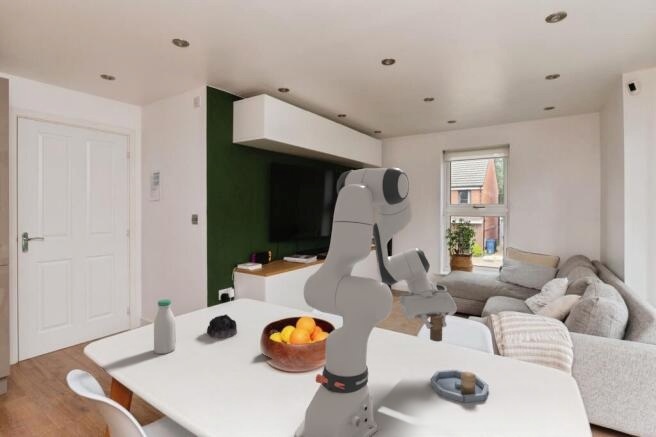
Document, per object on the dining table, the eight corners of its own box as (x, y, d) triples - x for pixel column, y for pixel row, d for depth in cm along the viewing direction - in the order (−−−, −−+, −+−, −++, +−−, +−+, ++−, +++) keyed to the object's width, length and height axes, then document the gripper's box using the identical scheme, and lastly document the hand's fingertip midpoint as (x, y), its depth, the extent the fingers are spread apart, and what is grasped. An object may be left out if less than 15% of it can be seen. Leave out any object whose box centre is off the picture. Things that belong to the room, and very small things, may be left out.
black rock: (213, 329, 162) (211, 309, 161) (242, 327, 162) (239, 307, 161) (203, 343, 149) (200, 321, 148) (234, 340, 148) (231, 318, 147)
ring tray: (481, 412, 96) (481, 402, 96) (425, 394, 105) (425, 385, 105) (491, 387, 110) (491, 378, 109) (440, 373, 119) (440, 365, 118)
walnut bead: (440, 342, 116) (440, 318, 116) (428, 339, 118) (428, 316, 118) (443, 338, 119) (443, 315, 119) (432, 336, 122) (432, 313, 121)
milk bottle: (175, 352, 135) (174, 302, 134) (153, 355, 132) (152, 304, 131) (176, 345, 142) (175, 297, 141) (155, 348, 139) (154, 299, 138)
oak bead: (473, 399, 101) (474, 379, 100) (459, 395, 103) (459, 375, 103) (476, 393, 104) (476, 373, 104) (462, 389, 106) (463, 370, 106)
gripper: (400, 289, 122) (413, 325, 113) (449, 286, 128) (466, 320, 119) (394, 298, 127) (406, 334, 117) (442, 295, 132) (458, 328, 123)
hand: (437, 327), depth 118 cm, fingers closed on walnut bead, 4 cm apart
